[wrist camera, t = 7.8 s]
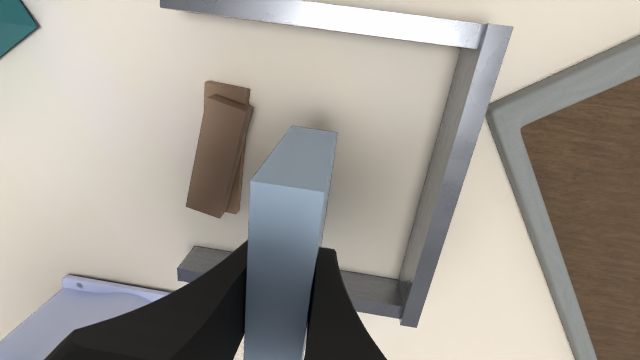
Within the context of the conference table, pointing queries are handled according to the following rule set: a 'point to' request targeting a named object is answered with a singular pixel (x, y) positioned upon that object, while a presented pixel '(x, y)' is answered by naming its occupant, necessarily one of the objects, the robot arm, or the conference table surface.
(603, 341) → the picture frame
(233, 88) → the block
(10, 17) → the teal l-shaped bracket
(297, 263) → the panel
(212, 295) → the robot arm
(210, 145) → the offcut top
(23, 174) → the conference table surface
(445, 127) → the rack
